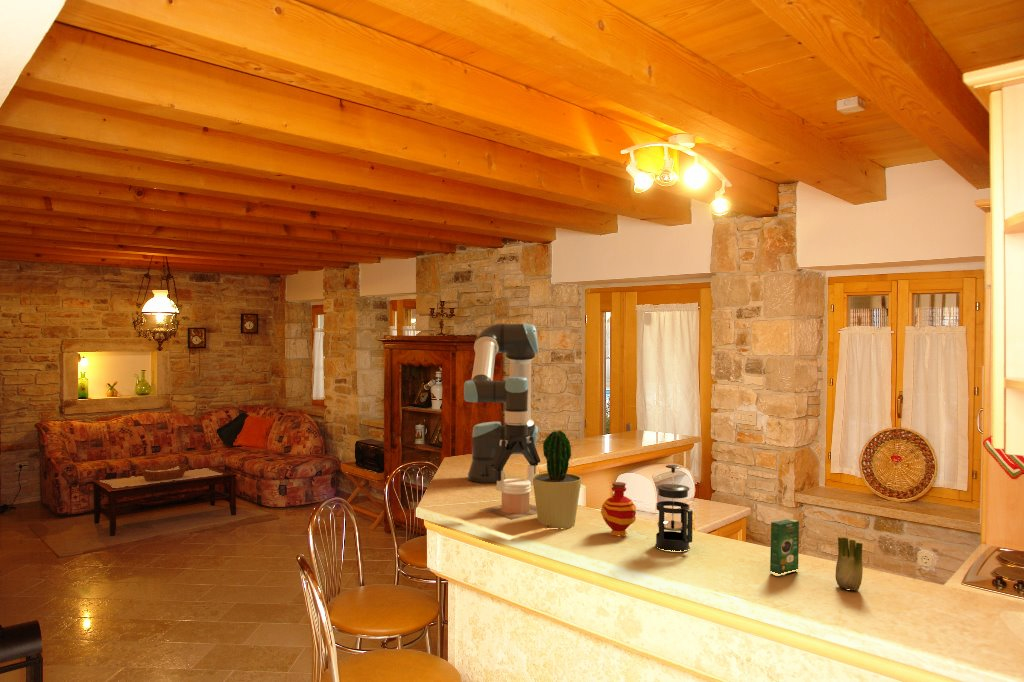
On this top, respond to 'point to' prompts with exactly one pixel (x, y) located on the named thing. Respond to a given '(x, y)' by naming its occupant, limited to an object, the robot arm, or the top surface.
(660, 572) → the top surface
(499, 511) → the board
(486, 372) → the robot arm
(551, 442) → the potted cactus
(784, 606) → the top surface
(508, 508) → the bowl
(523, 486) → the cream flat cylinder
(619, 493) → the potion bottle
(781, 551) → the coffee box
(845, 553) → the fennel bulb
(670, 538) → the french press
